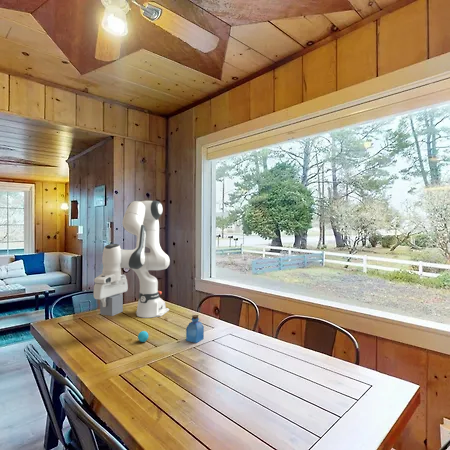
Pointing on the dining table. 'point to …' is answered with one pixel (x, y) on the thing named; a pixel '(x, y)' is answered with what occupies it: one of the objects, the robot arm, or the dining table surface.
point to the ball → (143, 336)
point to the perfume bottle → (195, 330)
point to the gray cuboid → (112, 305)
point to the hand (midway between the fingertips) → (111, 304)
